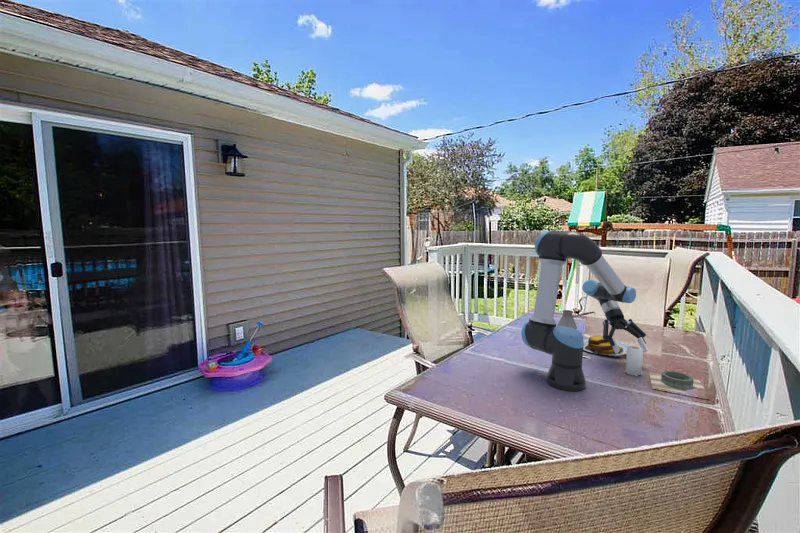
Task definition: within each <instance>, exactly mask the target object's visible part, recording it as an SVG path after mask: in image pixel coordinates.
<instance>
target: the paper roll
mask: <svg viewBox="0 0 800 533" xmlns="http://www.w3.org/2000/svg"><path fill="white" fill-rule="evenodd" d="M643 354H644V353H643V348H641V347H640V346H636V345H629V346H627V354H626V360H625V374H626V373H627V375H628V374H630V375H629V376H631V375H641V376H642V368H643V358H644V357H643V356H644V355H643Z"/></svg>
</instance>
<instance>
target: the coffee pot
mask: <svg viewBox="0 0 800 533" xmlns="http://www.w3.org/2000/svg"><path fill="white" fill-rule="evenodd" d="M573 314H574V311H573V310H568V309H564V310H562V316H561V318H560V320H559V321H558V322H557V324H556V326H565V327H570V328H573V329H576V330H578V329H577V328H578V326H577V324H576V322H575V318H576V317H581V316H586V315H590V314H591V315H592V314H594V315H595V316H596V313H595V311H589V312H583V313H580V314H576V315H573Z"/></svg>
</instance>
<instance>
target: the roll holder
mask: <svg viewBox="0 0 800 533" xmlns="http://www.w3.org/2000/svg"><path fill="white" fill-rule="evenodd" d="M649 376H650V378H649V382H650V381H651V382H650V386H651V385H652V387H651V389H652V388H655V389H661V390H668V391H675V392H681V393H685V391H687V390H693V389H700V388H701V389H702V388H704V389H705V387H704V385H703V383H702V382H701V380H698V379H694V377H693V376H691V375H689V374H688V373H685V372H684V373H683V372H681V371H675V370H663V371H661V373H657V372H651V371H648V377H649Z"/></svg>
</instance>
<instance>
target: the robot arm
mask: <svg viewBox="0 0 800 533" xmlns="http://www.w3.org/2000/svg"><path fill="white" fill-rule="evenodd" d="M534 251H535V254H536V255H538V261H539V262H540V263H541V264H540V269H539V270H540V271H539V275H538V276H539V277H538V283H537V289H536V296H535V302H534V309H533V314H532V316H530V317H529V318H528V319H529V320H528V321H526V322H525V323H524V325H523V326H522V328H521V332H520V333H521V340H522V342H523V343H524V344H525V345H526V346H527V347H528V348H531V349H532V350H537V351H539V352H542V353H545V354H548V355H551V365H550V367H549V369H548V372H547V374H546V383H547V384H548V385H550V386H551V387H553V388H556V389H557V390H562V391H567V392H568V391H569V392H579V391H583V390H585V389H586V386H587V381H586V378H585V374H584V371H583V355H584V350H583V346H584V342H583V340H584V335H583V334H582V332H580V330H578V329H573V328H570V327H565V326H557V325H558V322H556V320H555V312H556V305H557V300H558V299H557V298H558V293H559V287H560V281H561V280H560V279H561V272H562V267H563V266H564V265H565V264H566V263H567V259H573V260H576V261H578V262H579V263H580V264H581V265H583V266H586V268H587V269H588V270H589V271H590V273H591V274H592V275H594V277H595V279H596V280H597V281H596V280H594V279H588V280H586V281H584V283H583V284H582V291H583V293H584V294H586V295H587V296H588V297H591V298H593V299H595V300H596V301H597V302H598V304H599V305H600V307H601V310H602V311H603V314H604V316H605V319H604V321H602V325H603V330H602V336H603V339H606V340H607V341H609V343H610V345H611V346H612V347H613V349H614V351H615V353H618V352H620V349H619V347H618V345H617V343H616V342H617V341H616V338H615V337H613V336H614V334H615V331H616V330H618V331H619V330H623V331H626V332H628V333H629V334H631V335H632V336H633V337H635V338H636V341H637V343H638V345H639V347H641V348H643V354H644V353H646V352H648V351H649V348H648V347H647V342H646V340H645V337H646V336H647V334H646V333H645V332H644V331H643V330H642V329H641V328H640V327H639V326H638V325H637V324H636V323H635V322H634V320H632V319H631V318H629V319H627V320H626V318H625V316H624V313H623V311H622V309H621V307H620V305H619V302H620V303H622V304H624V303H625V304H632V303H634V301H635V299H636V297H637V291H636V288H634V287H632V286H627V285H626V284H625V283H624V282H623V281H622V279H621V278H620V277H619V275H618V274H617V273H616V272H615V270H614V269H613V268H612V267H611V265H610V264H609V263H608V261H607V260H606V259H605V257H604V256H603V251H602V249H601V247H600V246H599V245H598V244H597V242H595V241H594V240H593V239H591V238H590V237H588V236H587V235H585V234H583V233H582V232H579V231H575V230H570V231H569V230H568V231H567V230H546V231H543V232H541V233H540V234H539V235H538V236H537V238H536V239H535V241H534ZM609 326H611V327H610V331H609Z"/></svg>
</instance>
